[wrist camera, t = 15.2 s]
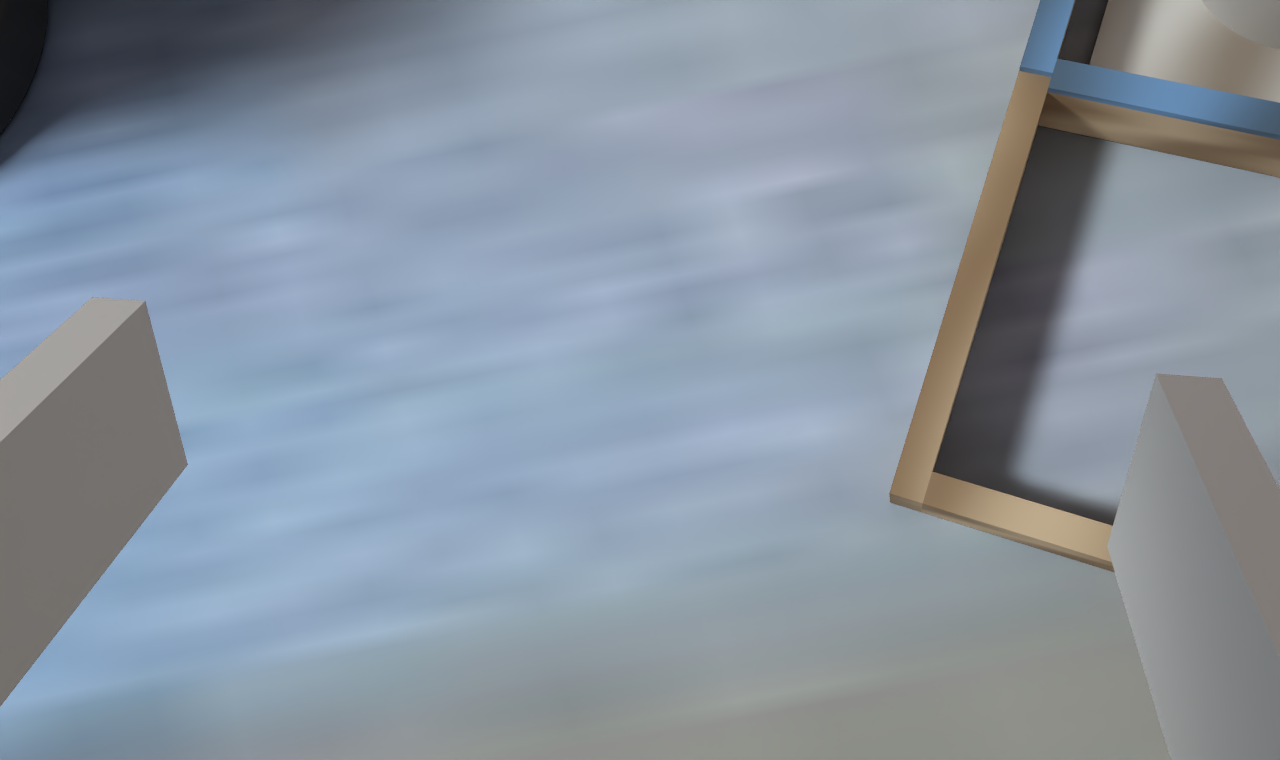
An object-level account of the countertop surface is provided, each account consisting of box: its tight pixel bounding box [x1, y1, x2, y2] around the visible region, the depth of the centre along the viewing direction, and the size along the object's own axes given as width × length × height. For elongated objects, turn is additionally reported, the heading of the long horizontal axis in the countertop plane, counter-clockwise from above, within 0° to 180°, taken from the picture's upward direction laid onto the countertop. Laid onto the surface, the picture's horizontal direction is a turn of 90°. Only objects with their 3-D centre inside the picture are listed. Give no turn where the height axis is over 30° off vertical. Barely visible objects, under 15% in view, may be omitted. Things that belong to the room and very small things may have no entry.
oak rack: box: [890, 0, 1280, 572], centre depth 36 cm, size 15×28×3 cm, turn 161°
